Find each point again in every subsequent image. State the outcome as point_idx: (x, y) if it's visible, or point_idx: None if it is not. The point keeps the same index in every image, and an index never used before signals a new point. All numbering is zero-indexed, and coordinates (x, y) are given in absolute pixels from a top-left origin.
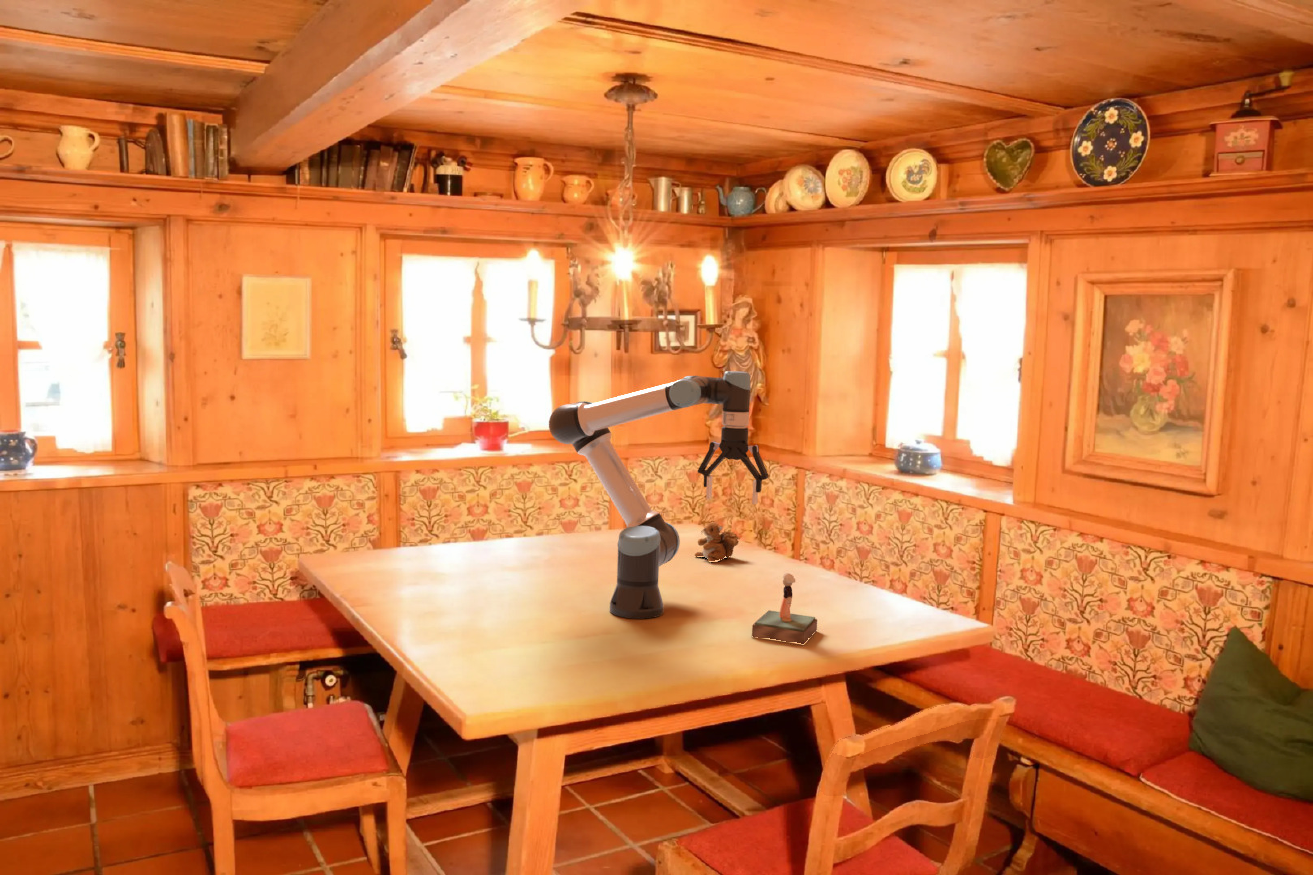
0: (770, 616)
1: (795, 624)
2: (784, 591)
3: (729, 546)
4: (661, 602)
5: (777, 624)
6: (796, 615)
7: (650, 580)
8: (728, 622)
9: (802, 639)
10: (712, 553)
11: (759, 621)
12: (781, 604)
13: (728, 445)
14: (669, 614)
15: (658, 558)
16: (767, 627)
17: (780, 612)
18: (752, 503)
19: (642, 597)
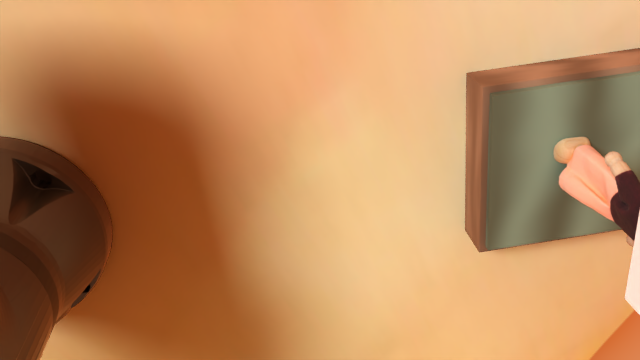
0: (518, 163)
1: None
2: (629, 235)
3: None
4: (89, 224)
5: (559, 226)
6: (603, 92)
7: (49, 334)
8: (343, 140)
9: None
10: None
11: (498, 233)
12: (589, 205)
13: None
14: (123, 184)
15: (11, 355)
16: (527, 244)
17: (572, 196)
18: (636, 302)
19: (60, 318)
